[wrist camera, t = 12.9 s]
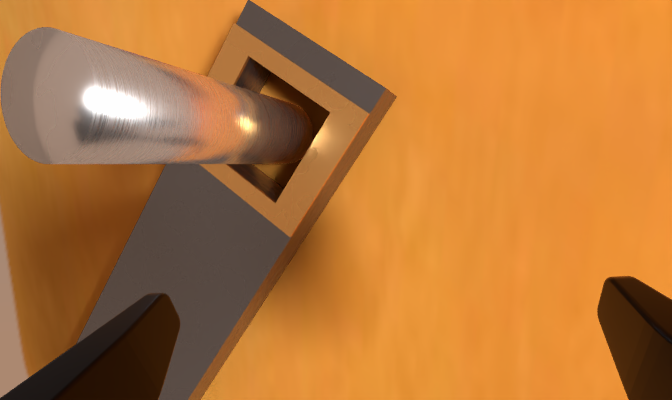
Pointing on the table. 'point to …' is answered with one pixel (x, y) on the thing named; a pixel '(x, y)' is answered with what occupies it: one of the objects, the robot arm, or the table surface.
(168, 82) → the peg
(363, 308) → the table surface
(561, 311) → the table surface
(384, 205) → the table surface
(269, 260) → the rail
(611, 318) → the robot arm
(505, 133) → the table surface
